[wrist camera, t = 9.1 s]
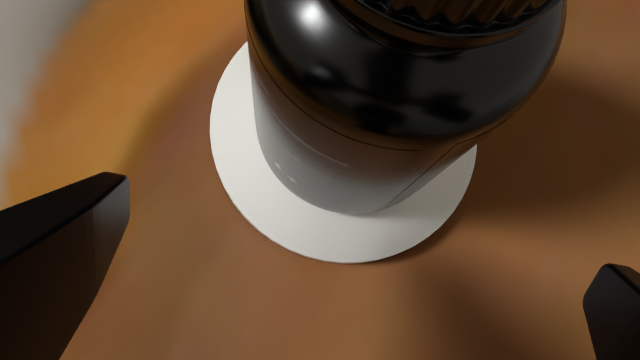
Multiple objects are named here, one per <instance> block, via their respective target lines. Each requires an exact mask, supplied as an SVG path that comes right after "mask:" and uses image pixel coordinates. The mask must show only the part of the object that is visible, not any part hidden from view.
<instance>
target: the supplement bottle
mask: <svg viewBox="0 0 640 360" xmlns="http://www.w3.org/2000/svg"><path fill="white" fill-rule="evenodd" d="M244 9H245V20H246V31H247V41H248V52H249V63H250V73H251V84H252V95H253V106H254V116H255V125H256V131H257V136H258V141H259V144H260V147H261V150H262V153H263V155H264V158H265V160H266V162H267V164H268V165H269V167H270V169H271V170H272V172H273V173H274V174H275V176H276V177H277V178H278V179H279V181H280V182H281V183H282V184H283V185H284V186H285V187H286V188H287V189H288V190H290V191H291V192H292V193H293V194H295V195H296V196H297V197H299V198H301V199H302V200H304V201H305V202H307V203H309V204H311V205H313V206H316V207H318V208H321V209H324V210H328V211H331V212H336V213H342V214H365V213H372V212H377V211H380V210H384V209H387V208H389V207H391V206H394V205H396V204H398V203H400V202H402V201H404V200H405V199H407V198H408V197H410V196H411V195H412V194H414V193H415V192H417V191H418V190H419V189H421V188H422V187H423V186H425V185H426V184H427V183H428V182H430V181H431V180H432V179H434V178H435V177H436V176H437V175H439V174H440V173H441V172H442V171H444V170H445V169H446V168H447V167H449V166H450V165H451V164H452V163H454V162H455V161H456V160H457V159H459V158H460V157H461V156H462V155H464V154H465V153H466V152H467V151H469V150H470V149H471V148H472V147H474V146H475V145H476V144H477V143H479V142H480V141H481V140H482V139H484V138H485V137H486V136H488V135H489V134H490V133H491V132H493V131H494V130H495V129H496V128H498V127H499V126H500V125H501V124H503V123H504V122H505V121H506V120H507V119H509V118H510V117H511V116H512V115H513V114H514V113H515V112H516V111H518V110H519V109H520V108H521V107H522V106H523V105H524V104H525V103H526V102H527V101H528V100H529V98H530V97H531V96H532V95H533V94H534V93H535V92H536V91H537V89H538V88H539V87H540V85H541V84H542V82H543V81H544V79H545V78H546V76H547V74H548V73H549V71H550V69H551V67H552V65H553V63H554V61H555V59H556V56H557V54H558V51H559V48H560V45H561V41H562V37H563V34H564V28H565V21H566V13H567V0H244Z"/></svg>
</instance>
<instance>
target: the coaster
mask: <svg viewBox="0 0 640 360" xmlns="http://www.w3.org/2000/svg"><path fill="white" fill-rule="evenodd" d="M210 139H211V147H212V153H213V157H214V161H215V165H216V169H217V171H218V174H219V176H220V179H221V181H222V183H223V186H224V188H225V190H226V192H227V194H228V196H229V197H230V199H231V201H232V202H233V204H234V206H235V207H236V208H237V209H238V211H239V212H240V213H241V214H242V216H243V217H244V218H245V219H246V220H247V221H248V222H249V223H250V224H251V225H252V226H253V227H254V228H255V229H256V230H257V231H258V232H259V233H261V234H262V235H263V236H265V237H266V238H267V239H269V240H270V241H271V242H273V243H275V244H277V245H278V246H280V247H282V248H284V249H286V250H287V251H290V252H292V253H295V254H297V255H300V256H302V257H305V258H309V259H313V260H317V261H321V262H328V263H337V264H358V263H365V262H371V261H377V260H380V259H383V258H386V257H390V256H393V255H395V254H398V253H400V252H402V251H405V250H407V249H409V248H411V247H413V246H415V245H417V244H418V243H420V242H421V241H423V240H424V239H426V238H427V237H429V236H430V235H431V234H432V233H434V232H435V231H436V230H437V229H438V228H439V227H441V226H442V225H443V224H444V222H445V221H446V220H447V219H448V218H449V217H450V216H451V214H452V213H453V212H454V210H455V209H456V207H457V206H458V204H459V203H460V201H461V200H462V198H463V196H464V194H465V192H466V189H467V187H468V185H469V183H470V179H471V176H472V173H473V170H474V165H475V159H476V153H477V144H476V145H475V146H474V147H472V148H471V149H470V150H469V151H467V152H466V153H465V154H464V155H462V156H461V157H460V158H459V159H457V160H456V161H455V162H454V163H452V164H451V165H450V166H449V167H447V168H446V169H445V170H444V171H442V172H441V173H440V174H439V175H437V176H436V177H435V178H434V179H432V180H431V181H430V182H428V183H427V184H426V185H425V186H423V187H422V188H421V189H419V190H418V191H417V192H415V193H414V194H412V195H411V196H410V197H408V198H407V199H405V200H404V201H402V202H400V203H398V204H396V205H394V206H391V207H389V208H387V209H384V210H380V211H377V212H372V213H365V214H342V213H336V212H331V211H328V210H324V209H321V208H318V207H316V206H313V205H311V204H309V203H307V202H305V201H304V200H302V199H301V198H299V197H297V196H296V195H295V194H293V193H292V192H291V191H290V190H288V189H287V188H286V187H285V186H284V185H283V184H282V183H281V182H280V181H279V179H278V178H277V177H276V176H275V174H274V173H273V172H272V170H271V169H270V167H269V165H268V164H267V162H266V160H265V158H264V155H263V153H262V150H261V147H260V144H259V141H258V136H257V131H256V125H255V116H254V106H253V95H252V84H251V73H250V63H249V52H248V41H247V42H246V43H245V44H244V45H243V46H242V48H241V49H240V50H239V51H238V52H237V53H236V54H235V55H234V57H233V58H232V60H231V61H230V63H229V64H228V66H227V67H226V69H225V71H224V73H223V75H222V77H221V79H220V81H219V84H218V86H217V89H216V93H215V96H214V99H213V104H212V110H211V116H210Z"/></svg>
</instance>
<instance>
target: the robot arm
mask: <svg viewBox="0 0 640 360" xmlns="http://www.w3.org/2000/svg"><path fill="white" fill-rule="evenodd" d="M129 215H130V189H129V179H128V177H127V176H126V175H122V174H116V173H111V172H102V173H99V174H96V175H94V176H91V177H88V178H86V179H83V180H81V181H78V182H75V183H73V184H70V185H67V186H65V187H62V188H59V189H57V190H54V191H51V192H49V193H46V194H43V195H41V196H38V197H35V198H33V199H30V200H27V201H25V202H22V203H19V204H17V205H14V206H12V207H9V208H6V209H4V210H1V211H0V360H59V359H60V357H61V356H62V354H63V352H64V350H65V349H66V347H67V345H68V344H69V342H70V340H71V339H72V337H73V335H74V333H75V332H76V330H77V328H78V327H79V325H80V323H81V322H82V320H83V318H84V316H85V315H86V313H87V311H88V310H89V308H90V306H91V304H92V303H93V301H94V299H95V297H96V295H97V293H98V291H99V289H100V287H101V285H102V283H103V280H104V278H105V276H106V273H107V271H108V269H109V266H110V264H111V262H112V259H113V257H114V255H115V253H116V250H117V248H118V246H119V243H120V241H121V239H122V236H123V234H124V232H125V229H126V227H127V224H128V221H129ZM583 309H584V313H585V316H586V320H587V324H588V328H589V332H590V336H591V340H592V344H593V348H594V352H595V355H596V359H597V360H640V273H638V272H637V271H635V270H633V269H632V268H630V267H627V266H623V265H617V264H611V263H608V264H605V265H603V266H602V267H601V268H600V270H599V271H598V273H597V275H596V276H595V278H594V280H593V281H592V283H591V284H590V286H589V288H588V289H587V291H586V293H585V295H584V298H583Z"/></svg>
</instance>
